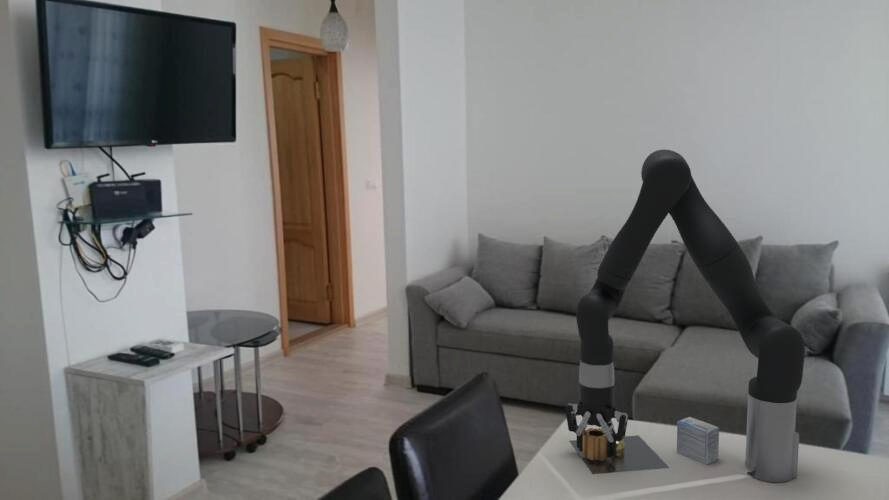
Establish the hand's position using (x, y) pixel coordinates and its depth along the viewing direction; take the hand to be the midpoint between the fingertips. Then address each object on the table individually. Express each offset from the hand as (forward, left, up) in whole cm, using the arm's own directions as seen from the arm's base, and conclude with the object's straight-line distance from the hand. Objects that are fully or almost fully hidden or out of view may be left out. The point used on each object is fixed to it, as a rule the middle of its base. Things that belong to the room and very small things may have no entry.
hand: (596, 452), depth 155 cm
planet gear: (0, 0, 0) cm, 0 cm away
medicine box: (-22, +3, -3) cm, 23 cm away
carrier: (-5, -1, -2) cm, 6 cm away
